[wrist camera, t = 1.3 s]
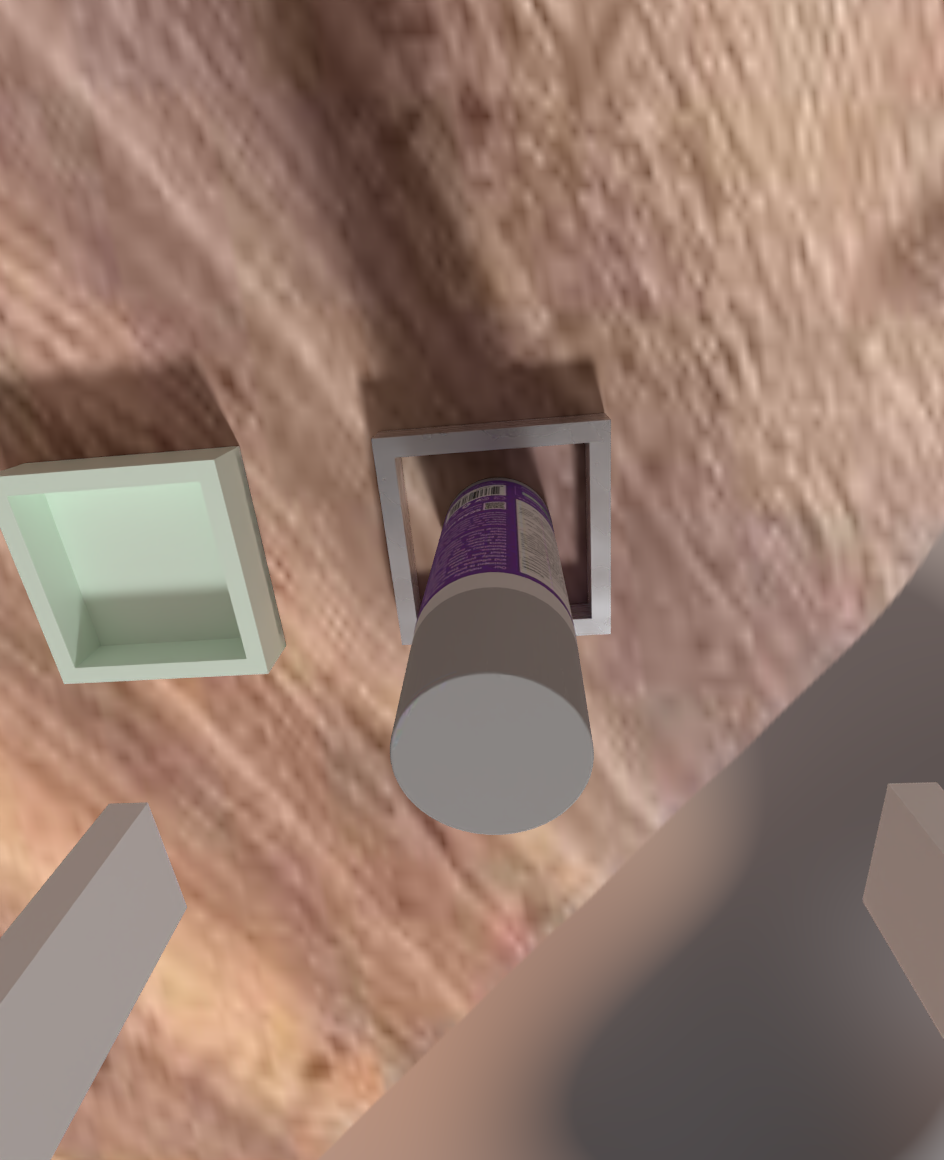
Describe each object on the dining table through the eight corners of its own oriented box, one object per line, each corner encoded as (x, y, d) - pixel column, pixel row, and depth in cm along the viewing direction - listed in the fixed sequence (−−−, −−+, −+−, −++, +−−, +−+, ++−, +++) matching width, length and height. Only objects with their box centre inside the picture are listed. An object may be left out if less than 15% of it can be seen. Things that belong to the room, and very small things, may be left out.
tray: (96, 655, 31) (64, 683, 29) (24, 463, 27) (-20, 478, 25) (286, 645, 30) (268, 673, 28) (239, 445, 26) (213, 459, 24)
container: (436, 569, 28) (373, 822, 15) (453, 467, 26) (396, 649, 13) (539, 587, 28) (572, 854, 15) (563, 487, 26) (625, 687, 13)
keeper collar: (407, 629, 30) (402, 645, 28) (378, 431, 26) (371, 438, 24) (605, 617, 29) (610, 633, 27) (605, 413, 25) (610, 419, 24)
